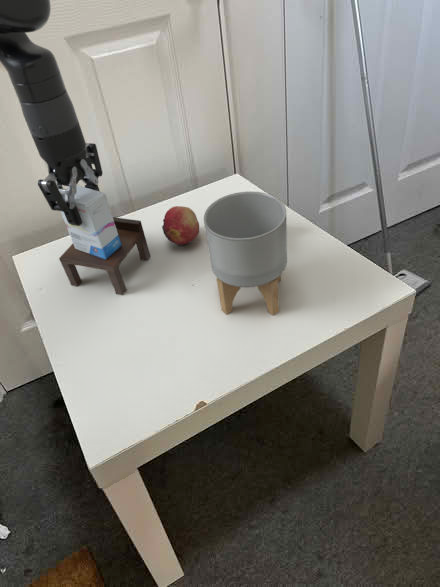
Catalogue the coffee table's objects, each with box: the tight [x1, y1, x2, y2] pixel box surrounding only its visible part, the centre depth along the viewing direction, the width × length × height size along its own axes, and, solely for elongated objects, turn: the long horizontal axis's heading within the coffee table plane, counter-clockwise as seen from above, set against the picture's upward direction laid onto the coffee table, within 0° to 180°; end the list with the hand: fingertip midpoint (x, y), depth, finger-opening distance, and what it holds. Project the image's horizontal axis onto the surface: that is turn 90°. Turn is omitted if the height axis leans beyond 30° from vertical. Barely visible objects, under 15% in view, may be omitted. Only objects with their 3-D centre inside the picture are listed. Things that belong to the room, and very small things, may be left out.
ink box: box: [60, 184, 122, 259], centre depth 84 cm, size 9×5×12 cm, turn 58°
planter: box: [203, 191, 288, 316], centre depth 78 cm, size 13×13×18 cm
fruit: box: [161, 205, 200, 246], centre depth 95 cm, size 8×8×8 cm
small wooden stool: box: [58, 216, 151, 296], centre depth 91 cm, size 12×12×9 cm
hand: (86, 213), depth 83 cm, fingers open, 6 cm apart
